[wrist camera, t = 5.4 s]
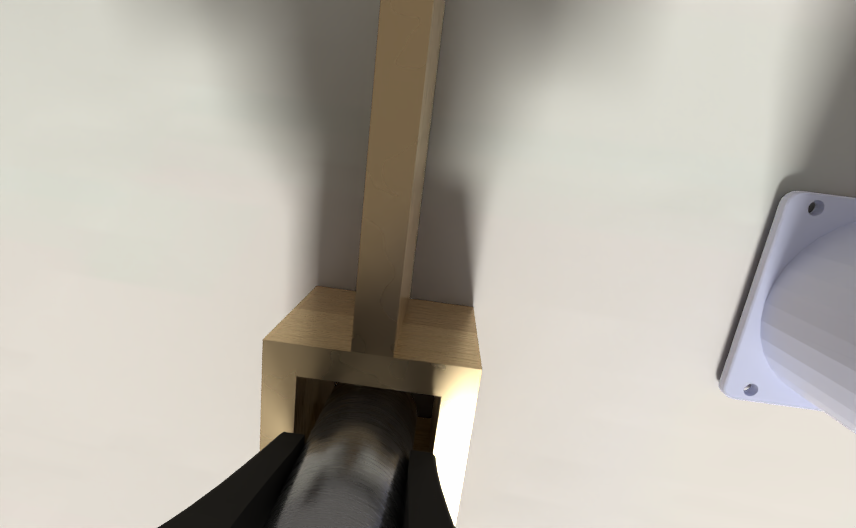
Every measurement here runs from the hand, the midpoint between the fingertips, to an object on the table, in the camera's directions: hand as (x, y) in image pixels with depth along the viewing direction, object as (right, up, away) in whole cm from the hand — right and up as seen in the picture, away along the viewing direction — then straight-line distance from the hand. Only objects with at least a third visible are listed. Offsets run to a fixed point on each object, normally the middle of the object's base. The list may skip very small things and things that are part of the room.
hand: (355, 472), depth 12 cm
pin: (0, +1, +2) cm, 2 cm away
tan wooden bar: (0, +1, +6) cm, 6 cm away
